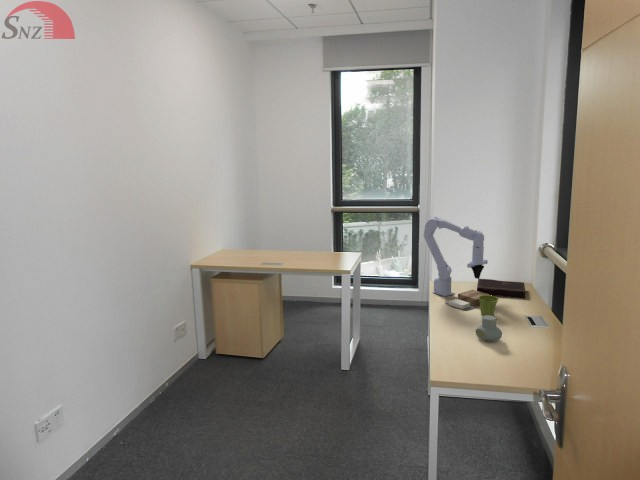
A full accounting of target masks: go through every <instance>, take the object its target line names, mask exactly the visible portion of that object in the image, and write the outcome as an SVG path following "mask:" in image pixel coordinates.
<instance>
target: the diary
mask: <svg viewBox="0 0 640 480" xmlns="http://www.w3.org/2000/svg"><path fill="white" fill-rule="evenodd" d="M476 285H477V286H476V291H479V292H483V293H486V294H489V295H492V296H495V297H502V296H503V297H504V298H505V297H506V298H515V297H516V298H517V299H519V298H520V299H526V287H525V285H526V284H525V282H524V281H523V282H522V281H512V280H511V281H506V280H499V279H490V278H479V279H477V283H476Z"/></svg>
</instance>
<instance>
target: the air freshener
mask: <svg viewBox="0 0 640 480" xmlns="http://www.w3.org/2000/svg"><path fill="white" fill-rule="evenodd" d="M497 322H498V321H497V317H495V315H494V316H490V315H486V316H483V315H482V318H481V324H480V325H478V326H477V327H476V329H475V335H476V336H477V338H479V340H481V341H482V342H483V341H484V342H487V343H488V342H489V343H490V342H491V343H492V342H497V341H499V340H500V339H502V338H503V337H502V336H503V331H502V330H501V328H499V326H497Z"/></svg>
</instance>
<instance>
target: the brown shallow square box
mask: <svg viewBox="0 0 640 480" xmlns="http://www.w3.org/2000/svg"><path fill="white" fill-rule="evenodd" d="M482 295H489V294H486V293H483V292H479V291H477V289H476V290H475V289H471V290H466V291H463V292H460V293H457V299H459V300H462V301H465V302H468V303H470V305H472V306H475V307H477V308H478V307H480V302H479V299H478V297H479V296H482ZM490 296H491V295H490Z"/></svg>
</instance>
